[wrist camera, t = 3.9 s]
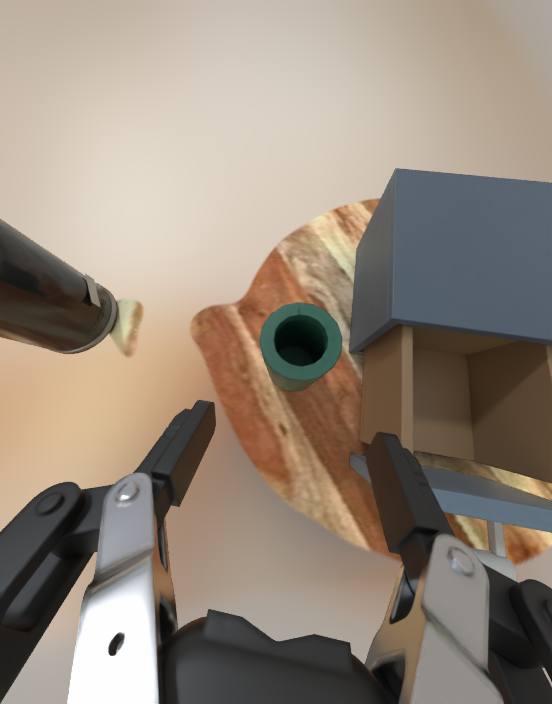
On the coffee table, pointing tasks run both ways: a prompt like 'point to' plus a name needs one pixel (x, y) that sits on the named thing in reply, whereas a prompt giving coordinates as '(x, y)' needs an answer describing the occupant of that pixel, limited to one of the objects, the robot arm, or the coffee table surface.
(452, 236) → the cabinet
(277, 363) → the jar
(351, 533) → the coffee table surface
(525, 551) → the coffee table surface
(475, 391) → the drawer
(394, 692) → the robot arm
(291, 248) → the coffee table surface
